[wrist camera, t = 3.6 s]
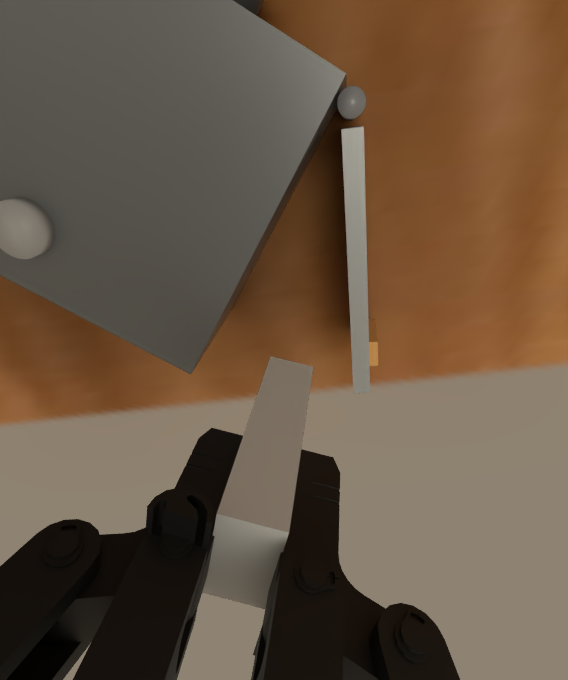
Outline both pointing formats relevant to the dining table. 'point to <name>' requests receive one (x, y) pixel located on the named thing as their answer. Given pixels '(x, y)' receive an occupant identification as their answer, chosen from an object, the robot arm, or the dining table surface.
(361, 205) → the side door
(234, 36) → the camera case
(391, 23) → the dining table surface
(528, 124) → the dining table surface
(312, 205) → the dining table surface
